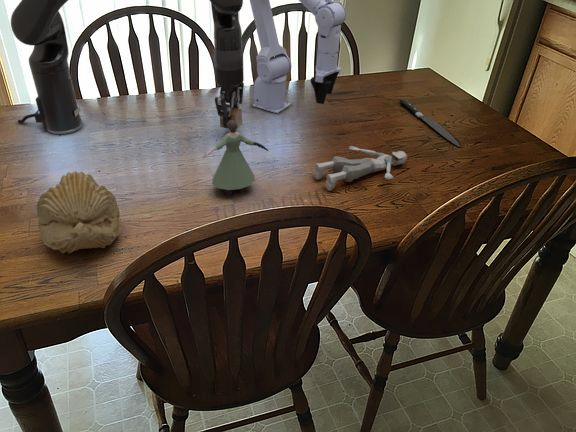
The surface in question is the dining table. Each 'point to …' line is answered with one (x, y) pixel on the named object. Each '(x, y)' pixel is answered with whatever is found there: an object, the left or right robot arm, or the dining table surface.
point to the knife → (429, 121)
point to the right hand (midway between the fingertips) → (323, 98)
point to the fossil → (78, 214)
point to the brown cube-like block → (234, 117)
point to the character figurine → (233, 162)
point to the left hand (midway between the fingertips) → (230, 124)
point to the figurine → (358, 166)
